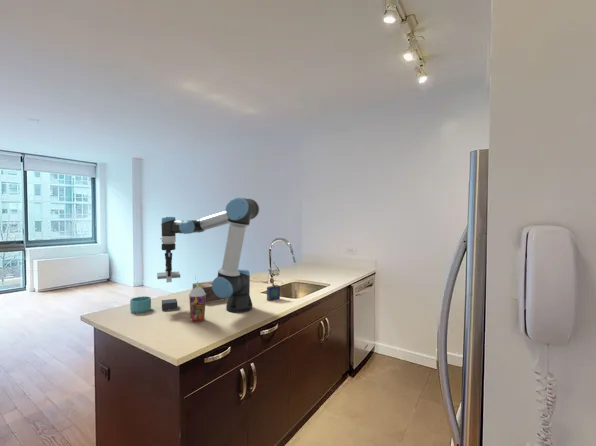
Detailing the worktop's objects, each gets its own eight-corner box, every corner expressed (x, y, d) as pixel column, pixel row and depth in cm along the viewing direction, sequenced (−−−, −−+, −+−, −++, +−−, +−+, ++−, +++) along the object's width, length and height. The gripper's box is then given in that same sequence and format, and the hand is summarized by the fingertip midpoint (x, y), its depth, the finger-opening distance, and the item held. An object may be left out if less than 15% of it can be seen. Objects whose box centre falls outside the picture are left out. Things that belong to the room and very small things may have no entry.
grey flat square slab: (180, 277, 177) (180, 274, 177) (157, 279, 172) (157, 276, 172) (178, 273, 188) (178, 271, 188) (157, 275, 183) (157, 272, 183)
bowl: (150, 311, 174) (150, 300, 173) (129, 314, 169) (129, 302, 169) (150, 306, 183) (150, 295, 183) (131, 308, 178) (130, 297, 178)
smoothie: (196, 324, 154) (196, 284, 154) (185, 321, 158) (185, 282, 158) (209, 319, 161) (209, 281, 161) (198, 316, 165) (198, 279, 165)
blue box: (267, 301, 197) (267, 284, 196) (265, 300, 199) (265, 283, 199) (280, 299, 201) (280, 283, 201) (278, 298, 204) (278, 282, 204)
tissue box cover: (200, 303, 190) (200, 287, 190) (192, 298, 202) (192, 283, 202) (238, 297, 206) (238, 282, 206) (229, 293, 218) (229, 278, 217)
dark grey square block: (177, 308, 179) (177, 302, 179) (162, 310, 175) (162, 303, 175) (176, 305, 186) (176, 298, 186) (161, 306, 183) (161, 300, 182)
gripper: (160, 241, 189) (160, 276, 190) (162, 245, 167) (162, 284, 168) (174, 241, 192) (174, 275, 193) (176, 244, 170) (176, 283, 171)
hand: (168, 280), depth 180 cm, fingers closed on grey flat square slab, 12 cm apart
